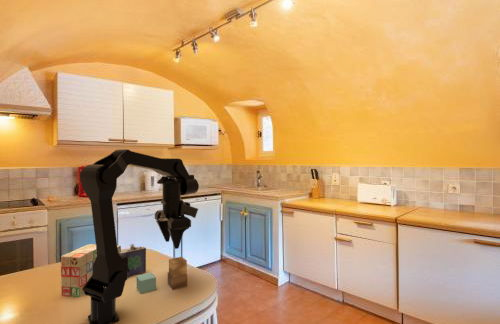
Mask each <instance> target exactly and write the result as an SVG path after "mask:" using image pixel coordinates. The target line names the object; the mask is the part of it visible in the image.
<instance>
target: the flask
mask: <svg viewBox="0 0 500 324" xmlns="http://www.w3.org/2000/svg"><path fill="white" fill-rule="evenodd" d="M119 254H120V255H122V256H126V257H127V258H128V268H129V270H130V271H129V272H128V277H127V278H130V277H134V276H138V275H142V274H146V271H147V247H145V246H137V247H136V246H135V245H134V243H132V244H130V246H129V249H126V250H121V252H120V253H119Z"/></svg>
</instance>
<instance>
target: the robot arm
mask: <svg viewBox="0 0 500 324" xmlns="http://www.w3.org/2000/svg"><path fill="white" fill-rule="evenodd" d="M128 166H131V167H136V168H142V169H148V170H151V171H154V172H155V173H156V174H159V175H161V177H160V178H159V180H157V182H156V183H157V184H161V185H162V199H161V200H160V204H162V209H160V210H159V209H158V210H156V211H155V212H154V219H155V221H156V224H157V226H158V228H159V229H160V232H161V234H162V237H163V238H164V241H165V242H166V243H167V242H168V243H169V242H170V239H171V241H172V244H173V246H174V247H173V248H174V249H176V250H177V249H179V248H180V244H181V241H182V238H183V235H184V234H185V232H186V231H187V230H189V229H190V228H191V227H192V220H191V219H190V218H189V217H191V218H194V219H196V216H197V214H198V211H199V208H197V207H195V206H191V203H190V202H188V201H184V199H182V196H187V195H193V194H196V193H197V192H198V190H199V188H200V185H199V182H198V180H197V179H196V178H195V174H189V172H188V170H187V168H186V167H185V164H184V162H183V160H182V159H181V158H167V157H166V158H161V157H156V156H153V155H148V154H146V153H145V154H144V153H140V152H136V151H132V150H130V149H126V148H125V149H115V150H114V151H113V152H111V153H110V154H108V155H107V156H104V157H102V158H101V159H99V160H97V161H95V162H93V163H91V164H87V165H86V166H85V167H83V168H82V170H81V171H80V172H79V173H80V174H79V180H80V182H81V187H82V189H83V192H84V193H85V195H86V196H87V198H88V199H89V200H90V206H91V215H92V223H93V233H94V239H95V244H96V249H97V257H96V259H95V262H94V264H93V273H92V276H91V277H90V279H89V280H88V282H87V283H86V284H85V286H84V287H83V292H84V295H85V296H88V297H90V314H89V315H87V319H88V324H113V323H117V322H119V321H120V317H119V314H118V311H117V307H116V306H117V305H116V299H117V298H119V297H122V296H123V292H124V289H125V284H126V281H127V280H128V278H129V277H128V272H129V271H130V270H129V268H128V258H127V257H126V256H122V255H120V254H119V253H118V248H117V245H118V240H117V233H116V232H117V230H116V224H115V214H114V212H115V211H114V206H113V205H114V204H113V197H114V194H115V193H116V190H117V188H118V187H117V184H118V178H119V177H121V176H122V175H123V174H124V172H125V171H126V169H127V168H128Z"/></svg>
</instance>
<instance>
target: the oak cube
mask: <svg viewBox="0 0 500 324" xmlns="http://www.w3.org/2000/svg"><path fill="white" fill-rule="evenodd" d="M187 262H188V261H187V259H185V258H184V257H183V256H179V257H173V258H168V272H169V273H170V274H171V275H172V276H173V277H176V276H180V275H185V274H187V275H188V273H187V272H188V268H187V267H188V263H187Z"/></svg>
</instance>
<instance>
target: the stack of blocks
mask: <svg viewBox="0 0 500 324" xmlns="http://www.w3.org/2000/svg"><path fill="white" fill-rule="evenodd" d="M117 248H118V253H120V252H122V246H121V245H118V244H117ZM96 257H97V249H96V243H95V244H94V243H88V244H86V245H84V246H82V247H79V248H77V249H75V250H73V251H70V252H68V253H66V254H65V253H64V254H63V255H61V257H60V263H61V266H60V276H61V297H71V298H81V297H83V296H84V295H85V294H84V292H83V287H84V286H85V284H86V283H87V282H88V280H89V279H90V277H91V276H92V273H93V264H94V262H95V259H96Z"/></svg>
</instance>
